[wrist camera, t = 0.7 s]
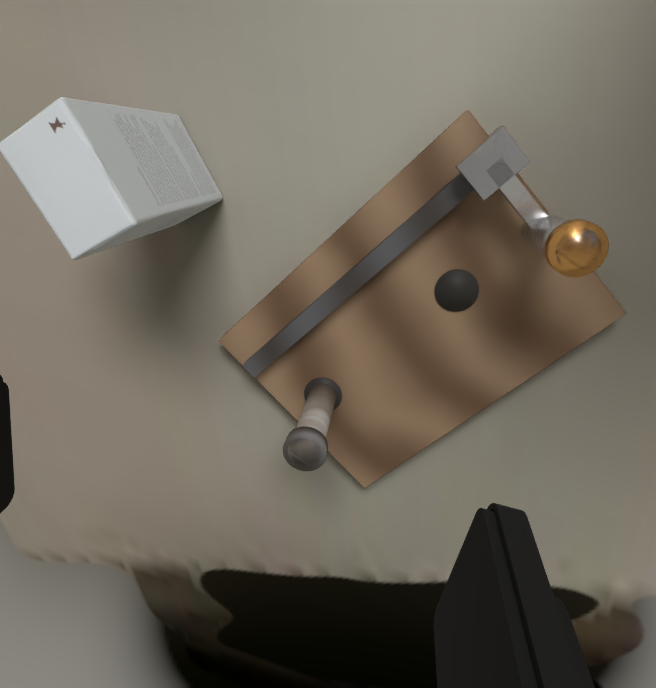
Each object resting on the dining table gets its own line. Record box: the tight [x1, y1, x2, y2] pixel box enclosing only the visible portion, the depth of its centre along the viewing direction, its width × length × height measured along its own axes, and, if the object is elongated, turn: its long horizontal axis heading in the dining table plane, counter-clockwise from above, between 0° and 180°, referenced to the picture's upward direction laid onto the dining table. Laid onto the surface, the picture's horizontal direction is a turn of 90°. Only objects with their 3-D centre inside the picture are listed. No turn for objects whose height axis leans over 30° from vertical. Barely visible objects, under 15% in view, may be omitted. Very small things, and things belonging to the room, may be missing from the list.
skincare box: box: [0, 97, 223, 260], centre depth 27 cm, size 6×4×12 cm
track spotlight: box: [455, 126, 609, 277], centre depth 26 cm, size 3×8×7 cm, turn 43°
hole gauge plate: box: [219, 110, 627, 488], centre depth 30 cm, size 22×16×9 cm
